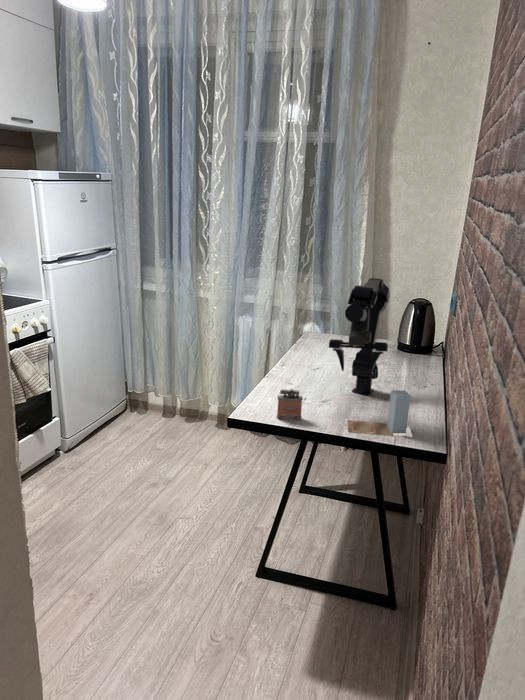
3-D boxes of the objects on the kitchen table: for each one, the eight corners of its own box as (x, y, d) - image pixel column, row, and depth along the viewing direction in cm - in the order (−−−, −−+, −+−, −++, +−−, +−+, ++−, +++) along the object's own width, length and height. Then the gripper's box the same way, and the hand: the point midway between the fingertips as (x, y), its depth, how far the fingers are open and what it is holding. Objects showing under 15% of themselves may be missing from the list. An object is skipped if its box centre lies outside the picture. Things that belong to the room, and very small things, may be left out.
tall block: (386, 427, 172) (391, 390, 169) (400, 426, 173) (404, 390, 169) (392, 433, 168) (396, 396, 164) (405, 432, 169) (410, 395, 165)
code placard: (409, 425, 174) (409, 425, 174) (413, 438, 166) (413, 437, 166) (347, 420, 176) (347, 420, 176) (348, 432, 168) (348, 432, 168)
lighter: (300, 416, 178) (302, 388, 175) (301, 420, 175) (303, 391, 172) (276, 415, 178) (277, 387, 175) (276, 420, 175) (278, 391, 172)
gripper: (327, 321, 172) (324, 370, 172) (387, 324, 167) (384, 374, 167) (333, 323, 182) (330, 369, 183) (389, 326, 177) (386, 373, 177)
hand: (356, 371), depth 177 cm, fingers open, 9 cm apart
